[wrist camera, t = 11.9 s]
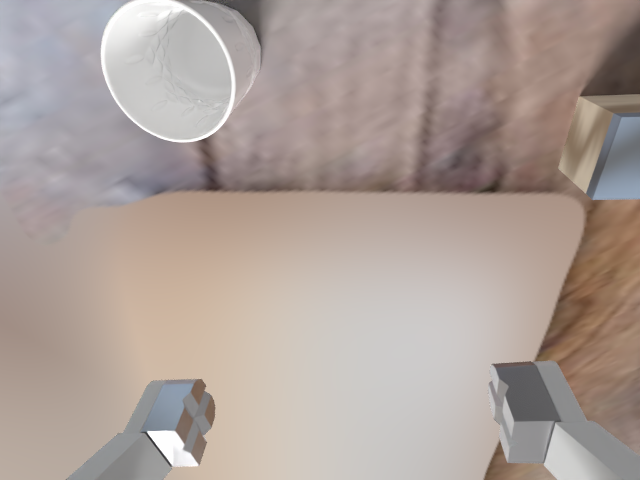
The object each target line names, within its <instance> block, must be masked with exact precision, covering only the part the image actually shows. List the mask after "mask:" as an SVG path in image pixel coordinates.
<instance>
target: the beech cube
mask: <svg viewBox="0 0 640 480" xmlns="http://www.w3.org/2000/svg"><path fill="white" fill-rule="evenodd" d="M558 169H559V170H560V171H562V172H563V173H564V174H565V175H566V176H567V177H568V178H569V179H570V180H571V181H573V182H574V183H575V184H576V185H577V186H578V187H579V188H580V189H581V190H582V191H584V192H585V193H586V194H587V195H588V196H589V197H590V198H591V199H592V200H603V199H640V94H631V95H603V96H579V99H578V102H577V106H576V109H575V113H574V116H573V119H572V123H571V126H570V130H569V133H568V137H567V140H566V144H565V147H564V150H563V154H562V157H561V161H560V164H559V168H558Z"/></svg>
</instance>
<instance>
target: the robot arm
mask: <svg viewBox="0 0 640 480" xmlns="http://www.w3.org/2000/svg"><path fill="white" fill-rule="evenodd" d="M490 375H491V378H492V381H491V382H490V383H489V386H488V394H489V403H490V407H491V411H492V414H493V418H494V420H495V421H496V422H497V423H498V424H499V425H500V434H499V437H500V441H501V444H502V447H503V450H504V453H505V456H506V459H507V463H544V466H545V467H546V468H547V469H548V470H549V471H550V472H551V473H552V474H553V475H554V477H555V478H556V479H557V480H640V456H639V455H638V454H636V453H635V452H634V451H633V450H631V449H630V448H629V447H627V446H626V445H625V444H623V443H622V442H621V441H619V440H618V439H617V438H616V437H614V436H613V435H612V434H610V433H609V432H608V431H606V430H605V429H604V428H603V427H601V426H600V425H599V424H597V423H596V422H595V421H587V419H586V417H585V416H584V414H583V412H582V410H581V408H580V406H579V404H578V402H577V400H576V398H575V396H574V394H573V393H572V391H571V389H570V387H569V385H568V383H567V381H566V379H565V377H564V375H563V373H562V371H561V370H560V368H559V366H558V364H557V363H556V362H555V361H540V362H531V361H530V362H515V363H501V364H500V363H499V364H492V365H491V366H490ZM205 387H206V385H205V383H204V382H203V380H202V379H188V380H155V381H151V382H150V383H149V384H148V385H147V387H146V389H145V391H144V393H143V395H142V397H141V399H140V401H139V403H138V404H137V407H136V409H135V411H134V413H133V414H132V416H131V418H130V420H129V422H128V424H127V426H126V428H125V430H124V432H123V433H119V434H117V435H116V436H115V437H114V438H113V439H111V440H110V441H109V442H108V443H107V444H106V445H105V446H103V447H102V448H101V449H100V450H99V451H98V452H97V453H95V454H94V455H93V456H92V457H91V458H90V459H89V460H87V461H86V462H85V463H84V464H83V465H82V466H81V467H80V468H79V469H77V470H76V471H75V472H74V473H73V474H72V475H70V476H69V477H68V478H67V479H66V480H163V479H164V478H165V477H166V476H167V474H168V473H169V472H170V471H171V469H172V468H171V467H185V466H199V465H200V462H201V459H202V456H203V453H204V449H205V446H206V443H207V442H206V439H205V436H204V435H205V434H206V433H207V432H208V431H209V430H210V429H211V427H212V424H213V421H214V417H215V404H214V400H213V398H212V396H211V395H210V394H209V393H207V392H205V391H204V390H205Z"/></svg>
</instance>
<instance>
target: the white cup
mask: <svg viewBox="0 0 640 480" xmlns="http://www.w3.org/2000/svg"><path fill="white" fill-rule="evenodd" d="M101 63H102V69H103V73H104V77H105V80H106V83H107V85H108V88H109V90H110V92H111V94H112V96H113V97H114V99H115V101H116V102H117V104H118V105H119V106H120V108H121V109H122V110H123V111H124V113H125V114H126V115H127V116H128V117H129V118H130V119H131V120H132V121H133V122H134V123H136V124H137V125H138V126H139V127H141V128H142V129H144V130H145V131H147V132H149V133H151V134H152V135H155V136H157V137H159V138H162V139H165V140H169V141H174V142H192V141H197V140H201V139H203V138H206V137H208V136H210V135H211V134H213V133H214V132H216V131H217V130H218V129H219V128H220V127H221V126H222V125H223V124H224V122H225V121H226V120H227V119H228V117H229V116H230V115H231V114H232V112H233V111H234V110H235V109H236V107H237V106H238V105H239V104H240V102H241V101H242V100H243V98H244V97H245V95H246V94H247V93H248V91H249V90H250V88H251V86H252V84H253V83H254V81H255V79H256V77H257V75H258V73H259V71H260V66H261V47H260V44H259V41H258V39H257V36H256V34H255V31H254V28H253V27H252V25H251V24H250V23H249V22H248V21H247V20H246V19H245V18H244V17H243V16H242V15H241V14H240V13H239V12H238V11H237V10H235V9H232V8H230V7H227V6H225V5H222V4H220V3H213V2H209V1H204V0H131V1H129V2H127V3H126V4H124V5H123V6H121V7H120V8H119V9H118V10H117V11H116V12H115V13H114V14H113V15H112V17H111V18H110V20H109V21H108V23H107V25H106V27H105V30H104V33H103V37H102V42H101Z"/></svg>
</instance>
